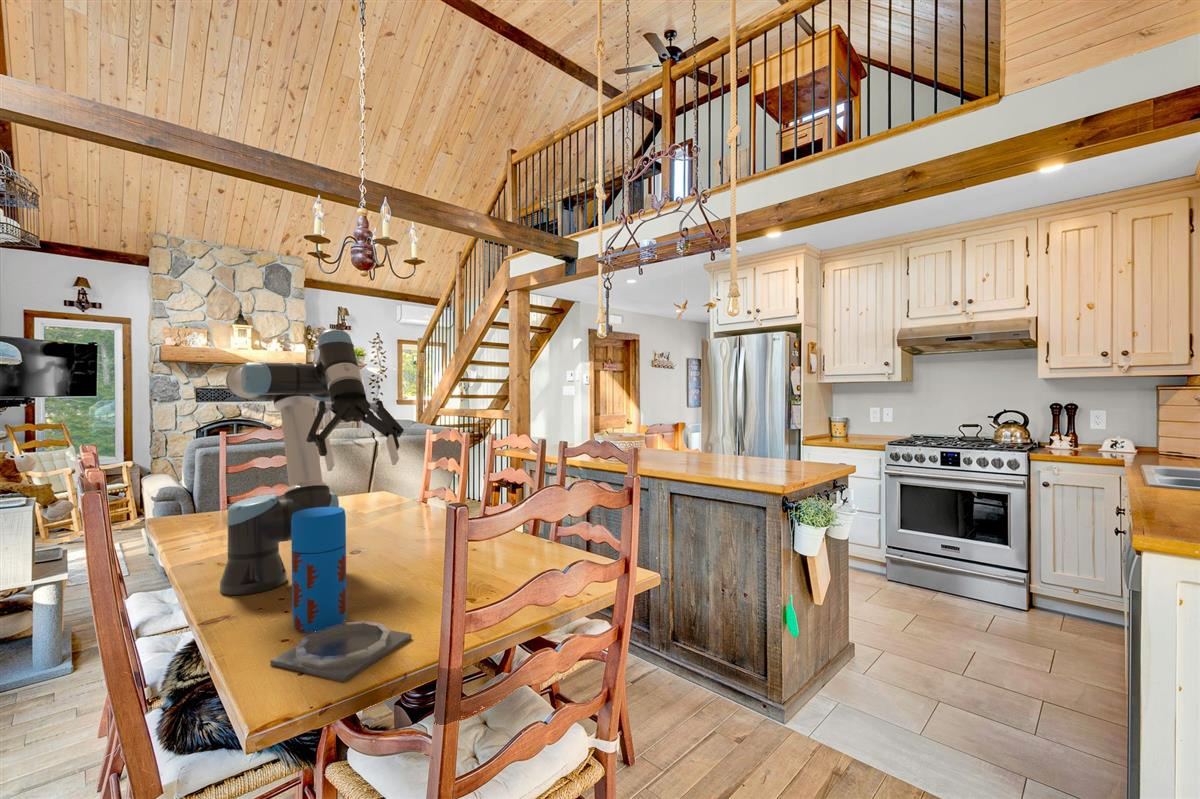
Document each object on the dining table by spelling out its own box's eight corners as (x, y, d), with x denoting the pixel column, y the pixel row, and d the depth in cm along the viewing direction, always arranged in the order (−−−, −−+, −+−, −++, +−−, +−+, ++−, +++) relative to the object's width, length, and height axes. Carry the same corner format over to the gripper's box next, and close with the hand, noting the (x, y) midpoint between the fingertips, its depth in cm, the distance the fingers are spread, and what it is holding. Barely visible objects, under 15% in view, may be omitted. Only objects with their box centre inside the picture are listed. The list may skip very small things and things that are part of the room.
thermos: (333, 608, 129) (332, 504, 129) (355, 620, 123) (354, 510, 122) (284, 623, 121) (283, 512, 121) (304, 637, 114) (303, 519, 114)
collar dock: (270, 665, 103) (270, 652, 102) (344, 626, 119) (344, 615, 119) (344, 682, 96) (344, 668, 96) (411, 638, 113) (411, 626, 113)
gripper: (288, 376, 116) (304, 461, 107) (403, 377, 133) (425, 451, 124) (282, 396, 121) (297, 479, 112) (394, 395, 137) (414, 467, 128)
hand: (364, 465), depth 118 cm, fingers open, 13 cm apart
